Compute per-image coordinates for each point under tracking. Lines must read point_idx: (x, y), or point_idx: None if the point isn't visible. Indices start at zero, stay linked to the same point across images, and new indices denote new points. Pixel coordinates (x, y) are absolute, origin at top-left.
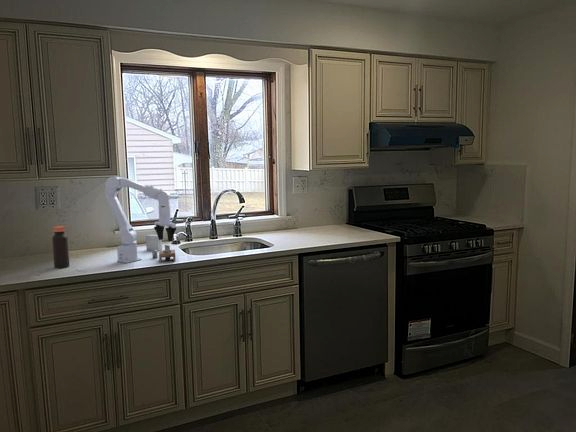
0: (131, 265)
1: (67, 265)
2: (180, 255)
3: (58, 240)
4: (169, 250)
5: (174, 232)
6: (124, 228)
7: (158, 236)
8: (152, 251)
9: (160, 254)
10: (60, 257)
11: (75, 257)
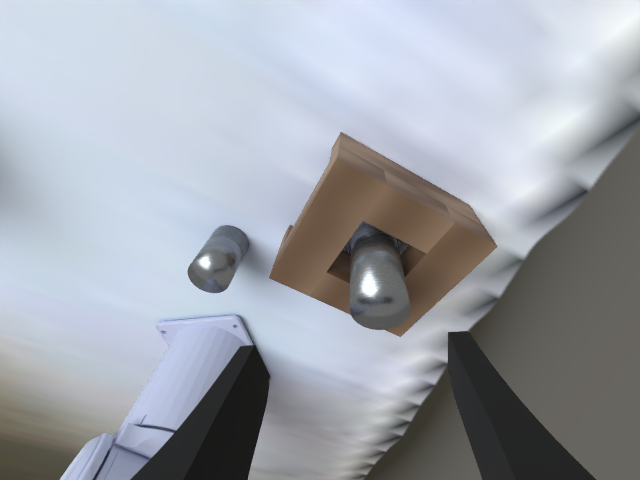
0: (334, 383)
1: None
2: (261, 15)
3: None
4: (400, 262)
5: (592, 478)
6: None
7: (253, 428)
8: (214, 290)
9: (406, 326)
10: None
11: (38, 418)
